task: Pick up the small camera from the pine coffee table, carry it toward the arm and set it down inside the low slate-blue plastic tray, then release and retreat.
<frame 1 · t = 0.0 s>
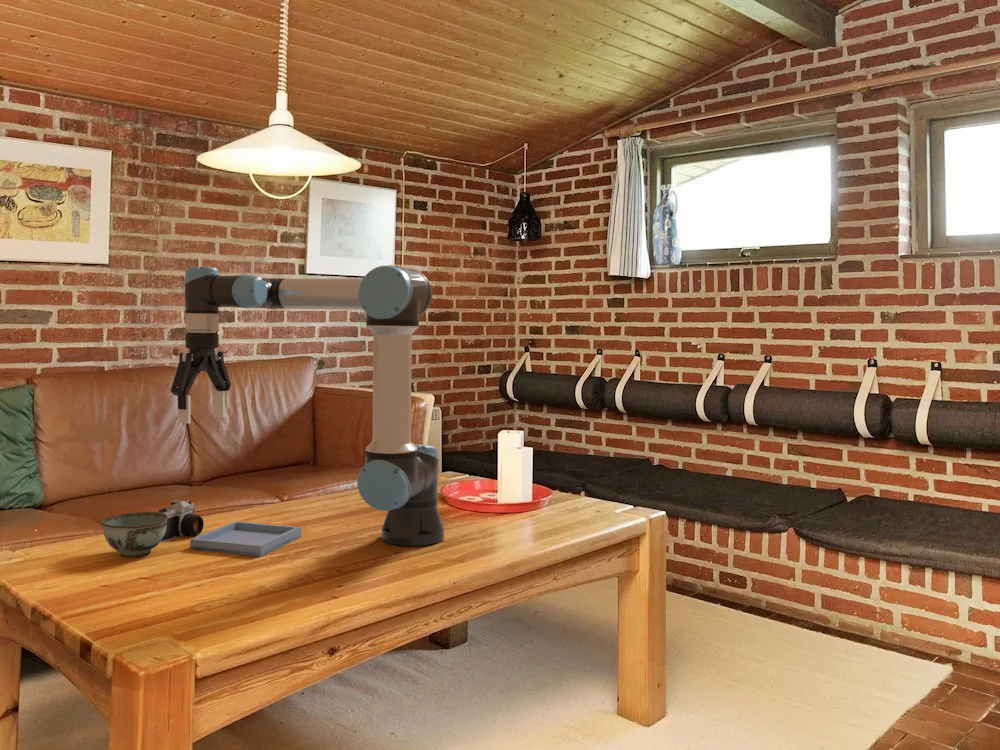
hand: (202, 420, 199), 28 cm above the table, fingers open, 13 cm apart
bowl: (135, 554, 183), on the table
tray: (247, 543, 194), on the table
camera: (183, 536, 200), on the table
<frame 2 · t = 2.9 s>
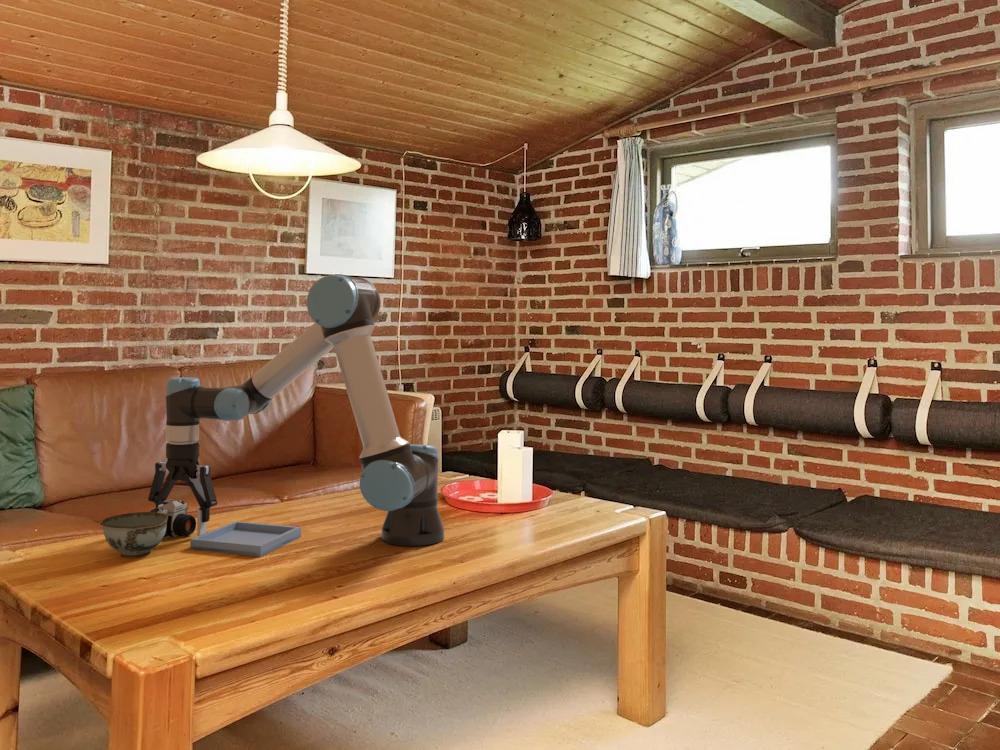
hand: (182, 532, 200), 1 cm above the table, fingers open, 10 cm apart
camera: (175, 536, 199), on the table, touching gripper
everything else where it was.
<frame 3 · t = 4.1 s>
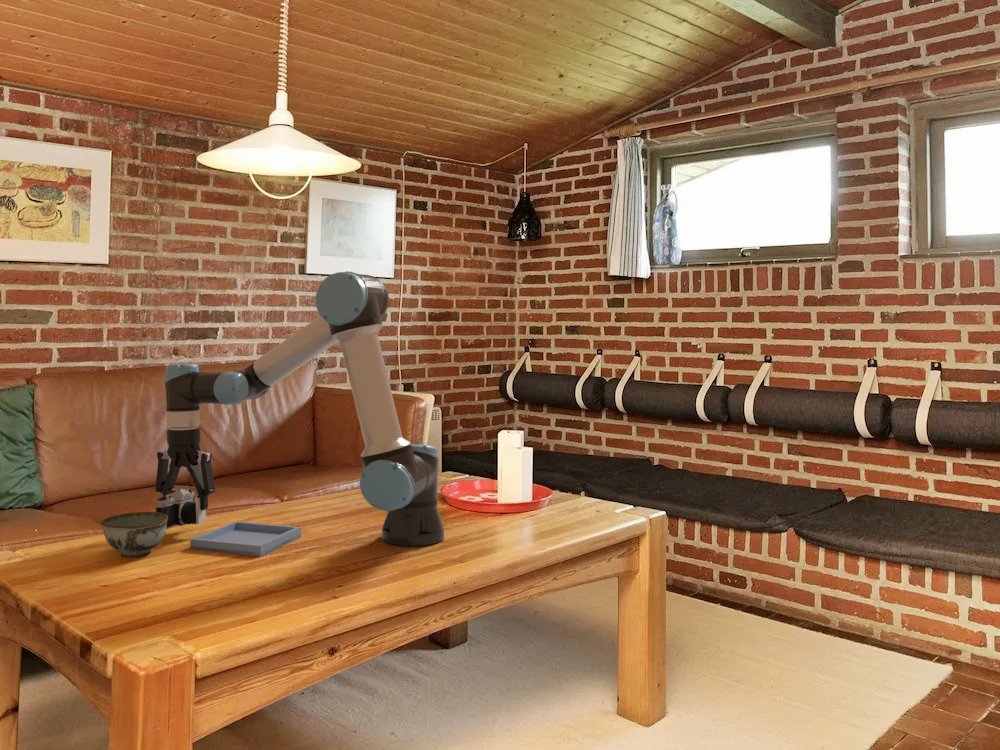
hand: (186, 521, 199), 3 cm above the table, fingers closed on camera, 8 cm apart
camera: (183, 525, 198), point 3 cm above the table, touching gripper
everything else where it was.
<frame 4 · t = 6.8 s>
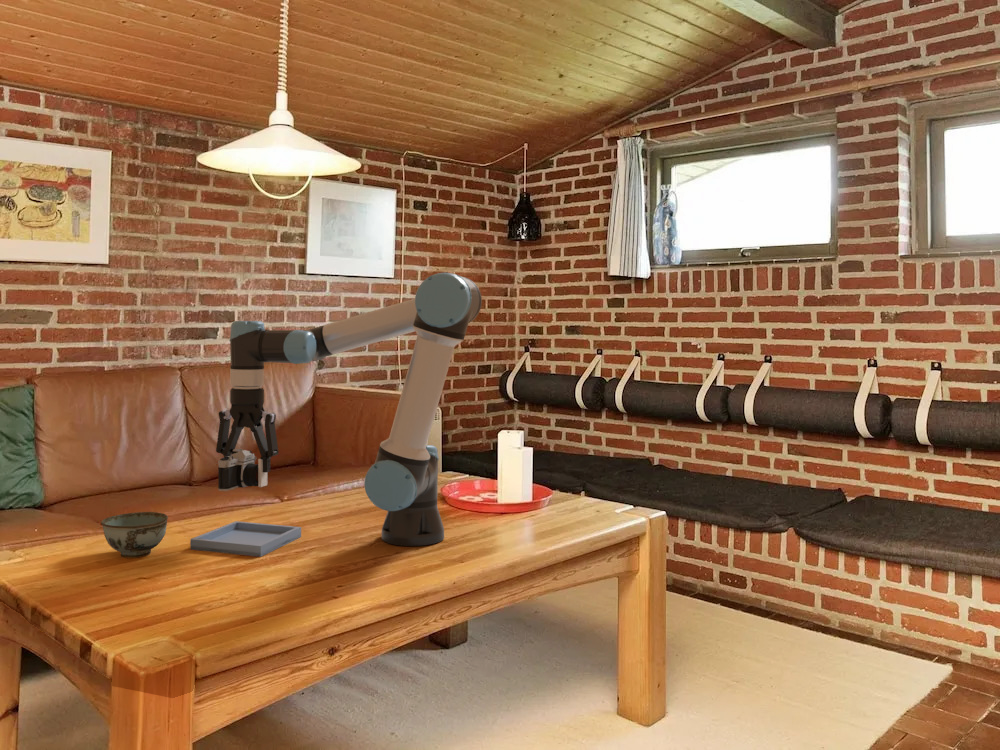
hand: (247, 484, 193), 14 cm above the table, fingers closed on camera, 8 cm apart
camera: (244, 487, 192), point 13 cm above the table, touching gripper
everything else where it was.
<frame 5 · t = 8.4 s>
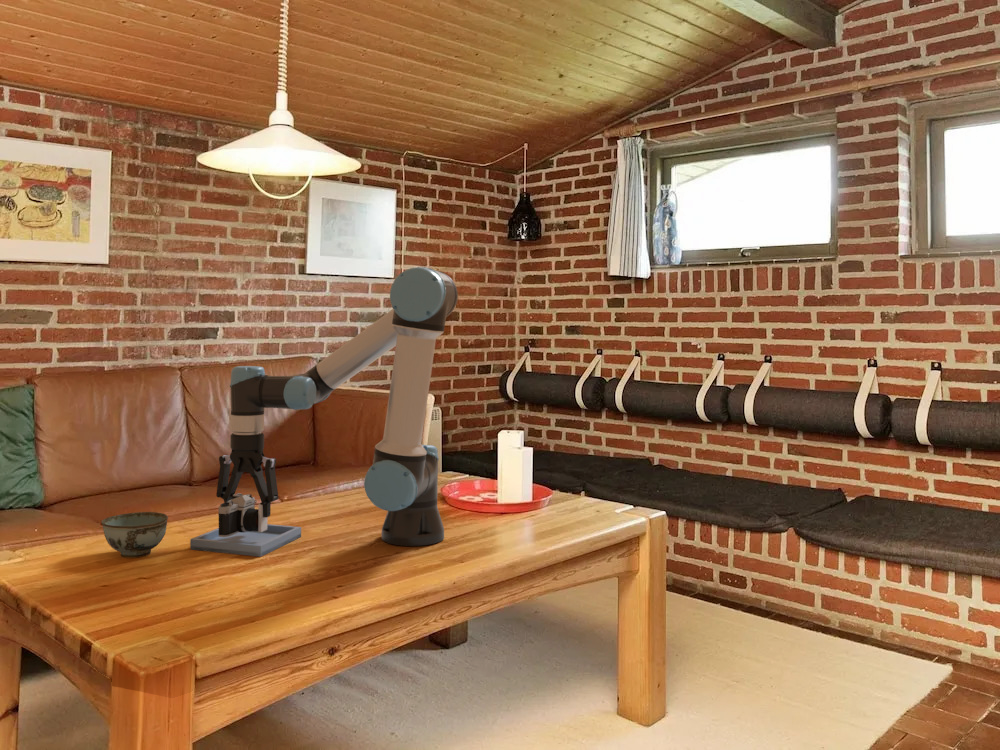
hand: (247, 529, 194), 3 cm above the table, fingers closed on camera, 8 cm apart
camera: (244, 531, 193), point 3 cm above the table, touching gripper
everything else where it was.
when the fingers open (2 cm above the table, at t = 9.6 s): camera drops 1 cm, resting on tray.
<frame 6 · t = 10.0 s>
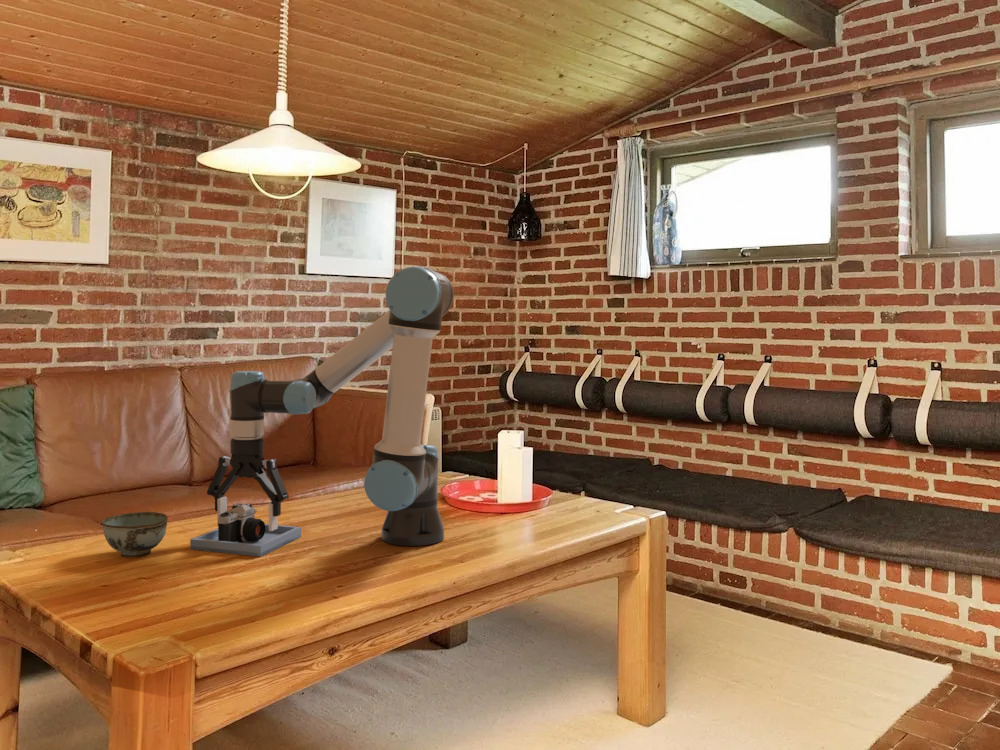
hand: (247, 527, 194), 4 cm above the table, fingers open, 13 cm apart
camera: (244, 541, 193), point 1 cm above the table, touching tray
everything else where it was.
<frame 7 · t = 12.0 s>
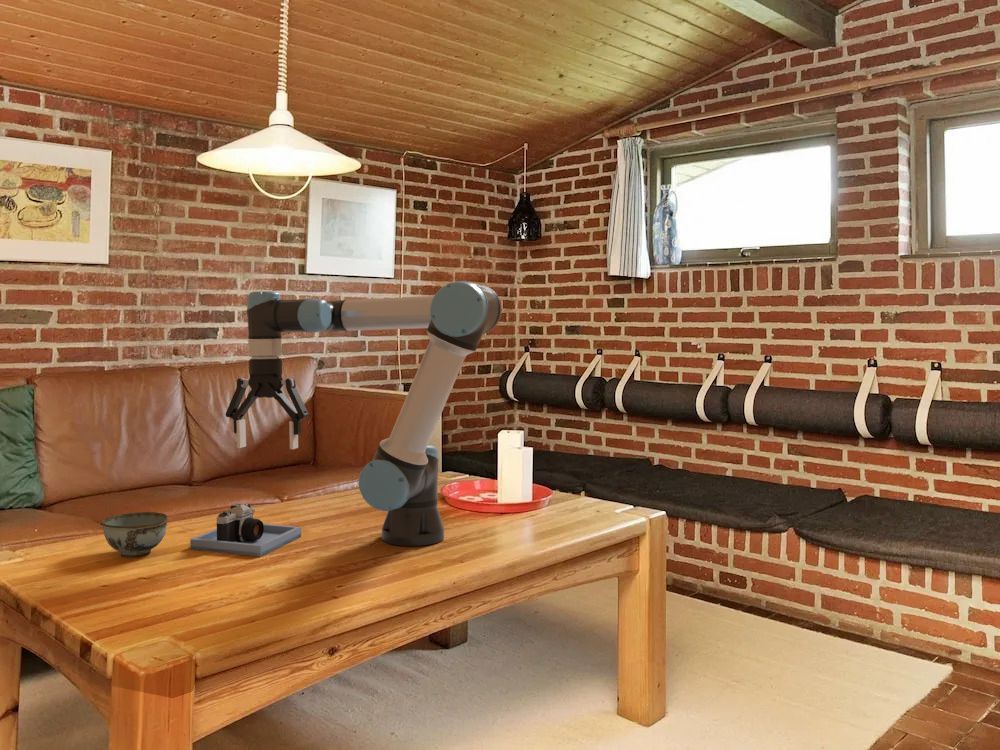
hand: (267, 448, 194), 22 cm above the table, fingers open, 13 cm apart
nothing on the table moved.
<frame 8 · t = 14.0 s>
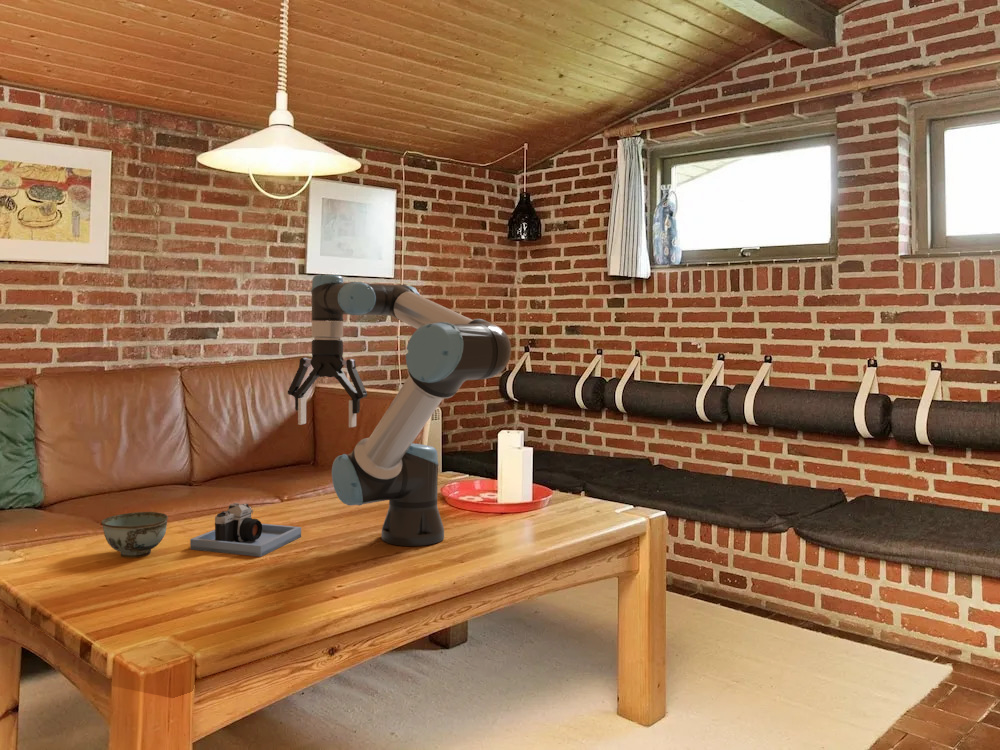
hand: (327, 425, 203), 27 cm above the table, fingers open, 13 cm apart
nothing on the table moved.
at the end: camera inside the target area on the tray (1.5 cm from its centre), point 0.6 cm above the tray's base; camera tilted 0°; the gripper is holding nothing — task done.
